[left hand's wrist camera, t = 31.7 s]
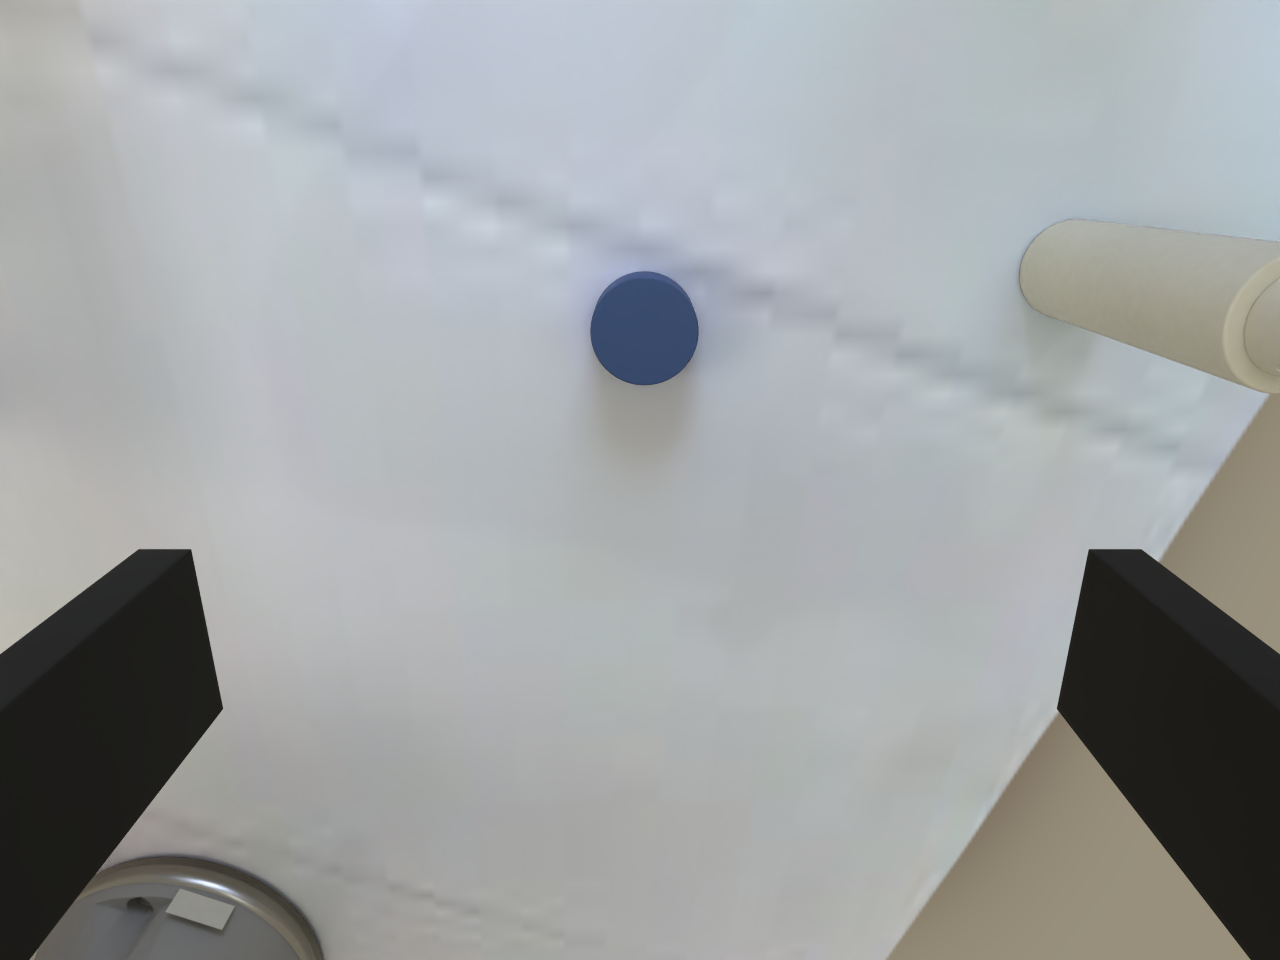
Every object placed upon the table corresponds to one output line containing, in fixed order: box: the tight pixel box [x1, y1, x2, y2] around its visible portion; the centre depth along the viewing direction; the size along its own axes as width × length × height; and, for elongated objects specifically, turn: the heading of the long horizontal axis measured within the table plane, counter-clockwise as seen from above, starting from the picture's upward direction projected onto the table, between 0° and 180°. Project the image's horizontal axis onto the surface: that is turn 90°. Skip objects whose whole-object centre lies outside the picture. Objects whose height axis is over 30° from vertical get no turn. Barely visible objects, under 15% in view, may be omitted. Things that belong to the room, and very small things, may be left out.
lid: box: [591, 272, 698, 385], centre depth 36 cm, size 4×4×2 cm
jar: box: [1020, 219, 1280, 394], centre depth 29 cm, size 4×4×15 cm
